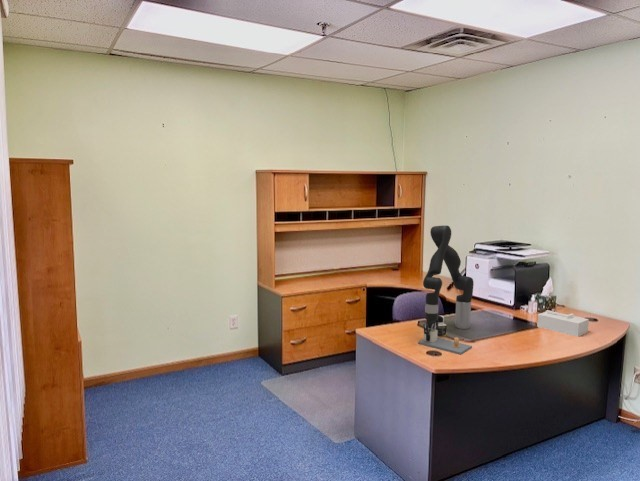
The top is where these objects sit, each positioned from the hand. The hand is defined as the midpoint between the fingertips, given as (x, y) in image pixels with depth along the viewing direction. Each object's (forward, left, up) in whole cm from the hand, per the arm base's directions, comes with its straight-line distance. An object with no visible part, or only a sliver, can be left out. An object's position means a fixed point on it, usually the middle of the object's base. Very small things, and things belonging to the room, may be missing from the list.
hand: (430, 339), depth 277 cm
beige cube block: (0, 0, 0) cm, 0 cm away
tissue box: (-79, +50, -2) cm, 93 cm away
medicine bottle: (-15, -3, -2) cm, 15 cm away
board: (0, +9, -2) cm, 9 cm away
